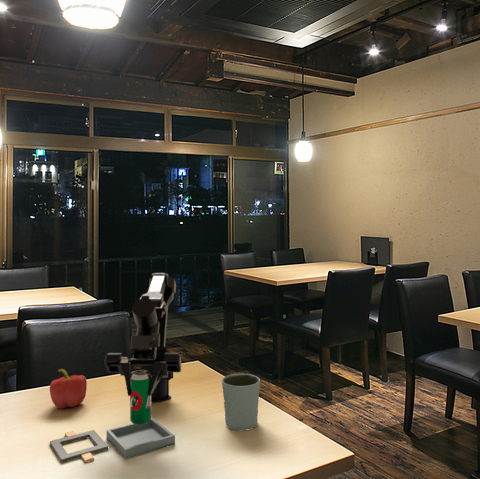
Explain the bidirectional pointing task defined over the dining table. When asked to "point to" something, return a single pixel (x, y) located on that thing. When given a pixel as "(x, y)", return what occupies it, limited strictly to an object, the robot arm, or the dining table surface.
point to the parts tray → (140, 438)
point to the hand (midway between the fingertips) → (139, 395)
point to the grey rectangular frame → (84, 454)
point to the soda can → (140, 397)
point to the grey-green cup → (241, 400)
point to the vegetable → (68, 390)
